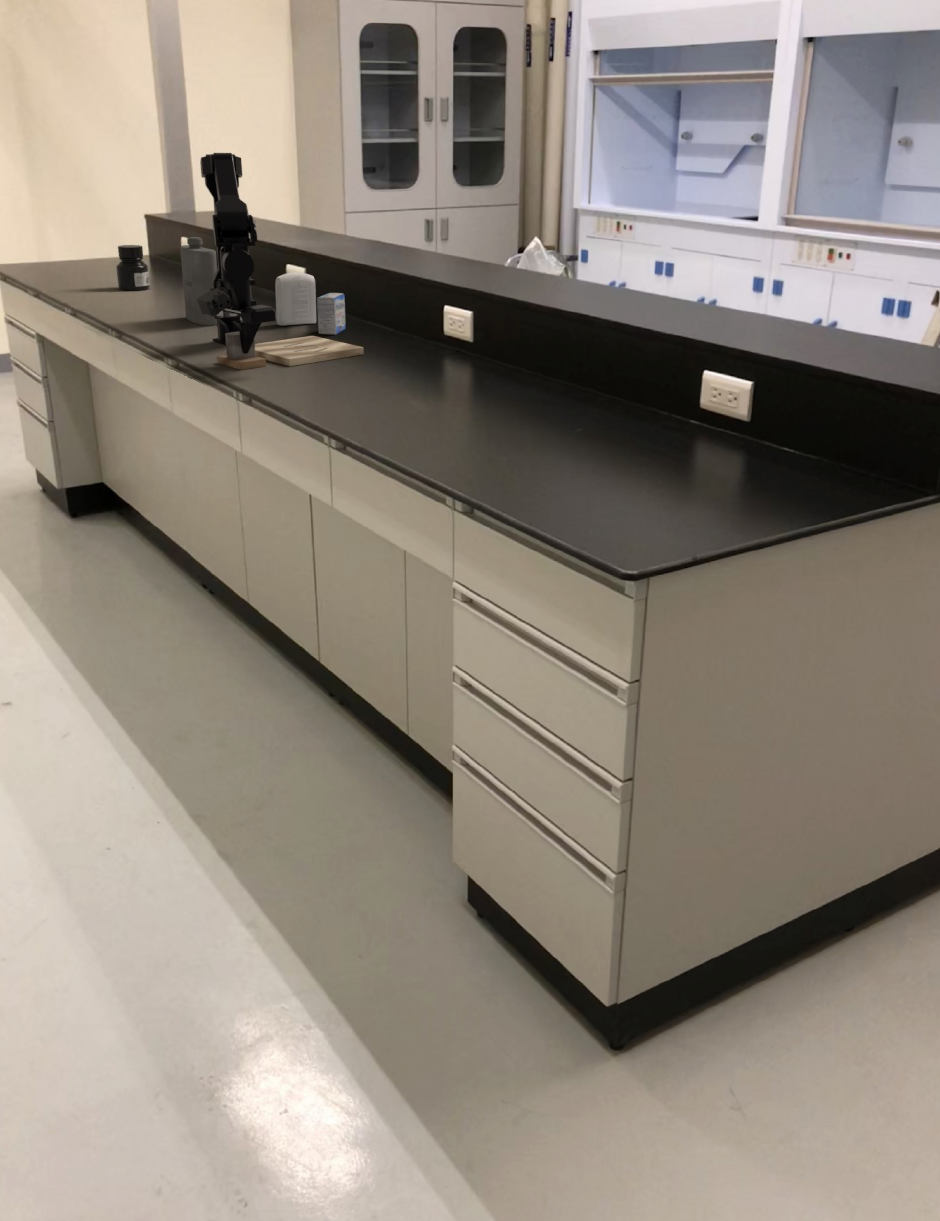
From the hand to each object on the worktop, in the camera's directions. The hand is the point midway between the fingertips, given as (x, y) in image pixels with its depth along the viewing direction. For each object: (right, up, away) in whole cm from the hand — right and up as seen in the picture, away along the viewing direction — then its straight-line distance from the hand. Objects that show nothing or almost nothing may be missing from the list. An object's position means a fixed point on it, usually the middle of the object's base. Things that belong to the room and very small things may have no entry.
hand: (240, 352), depth 231 cm
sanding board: (+11, +3, +12) cm, 17 cm away
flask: (-20, +19, +48) cm, 55 cm away
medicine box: (+14, +14, +38) cm, 43 cm away
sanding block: (0, -2, +1) cm, 3 cm away
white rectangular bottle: (+4, +18, +47) cm, 50 cm away
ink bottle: (-51, +41, +95) cm, 115 cm away
